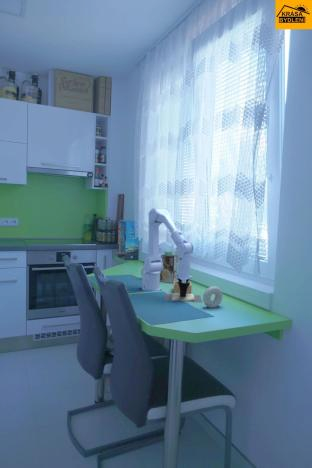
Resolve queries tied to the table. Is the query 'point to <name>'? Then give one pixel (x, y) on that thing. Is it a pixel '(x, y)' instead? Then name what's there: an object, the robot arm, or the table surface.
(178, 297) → the lid
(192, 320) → the table surface
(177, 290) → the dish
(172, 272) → the coffee box
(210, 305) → the donut
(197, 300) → the mat
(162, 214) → the robot arm
